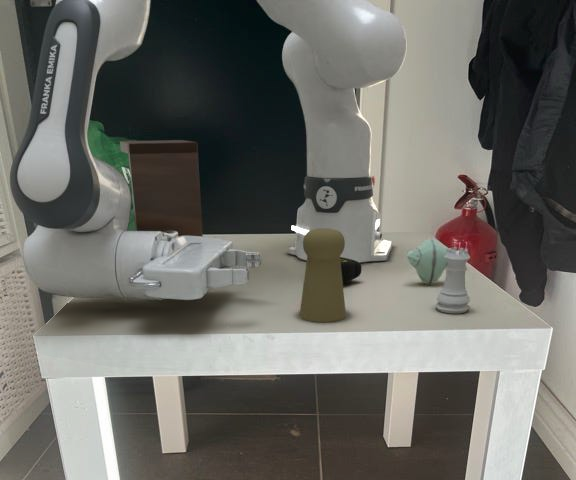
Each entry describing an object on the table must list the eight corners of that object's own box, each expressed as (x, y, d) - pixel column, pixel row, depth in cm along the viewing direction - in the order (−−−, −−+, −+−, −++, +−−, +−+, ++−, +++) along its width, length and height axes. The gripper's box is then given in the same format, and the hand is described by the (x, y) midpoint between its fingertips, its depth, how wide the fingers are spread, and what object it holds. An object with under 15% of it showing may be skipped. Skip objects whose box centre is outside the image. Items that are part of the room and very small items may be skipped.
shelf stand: (132, 269, 109) (119, 141, 101) (190, 265, 113) (182, 140, 105) (142, 284, 100) (128, 143, 92) (205, 278, 103) (197, 142, 95)
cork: (307, 323, 80) (307, 234, 76) (294, 310, 86) (293, 226, 81) (352, 319, 82) (355, 232, 77) (336, 307, 87) (338, 224, 83)
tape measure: (363, 282, 100) (364, 258, 99) (334, 290, 96) (335, 265, 94) (330, 275, 104) (330, 252, 103) (301, 282, 100) (301, 258, 98)
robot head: (406, 287, 97) (408, 242, 94) (399, 281, 100) (402, 237, 98) (458, 286, 97) (462, 241, 95) (449, 280, 101) (453, 236, 98)
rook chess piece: (433, 304, 88) (438, 245, 85) (466, 305, 87) (472, 246, 84) (437, 314, 84) (442, 252, 81) (472, 314, 83) (478, 253, 80)
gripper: (118, 257, 73) (238, 259, 72) (169, 228, 92) (265, 229, 90) (124, 311, 75) (240, 314, 74) (173, 272, 94) (266, 274, 93)
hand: (254, 267), depth 82 cm, fingers open, 8 cm apart
